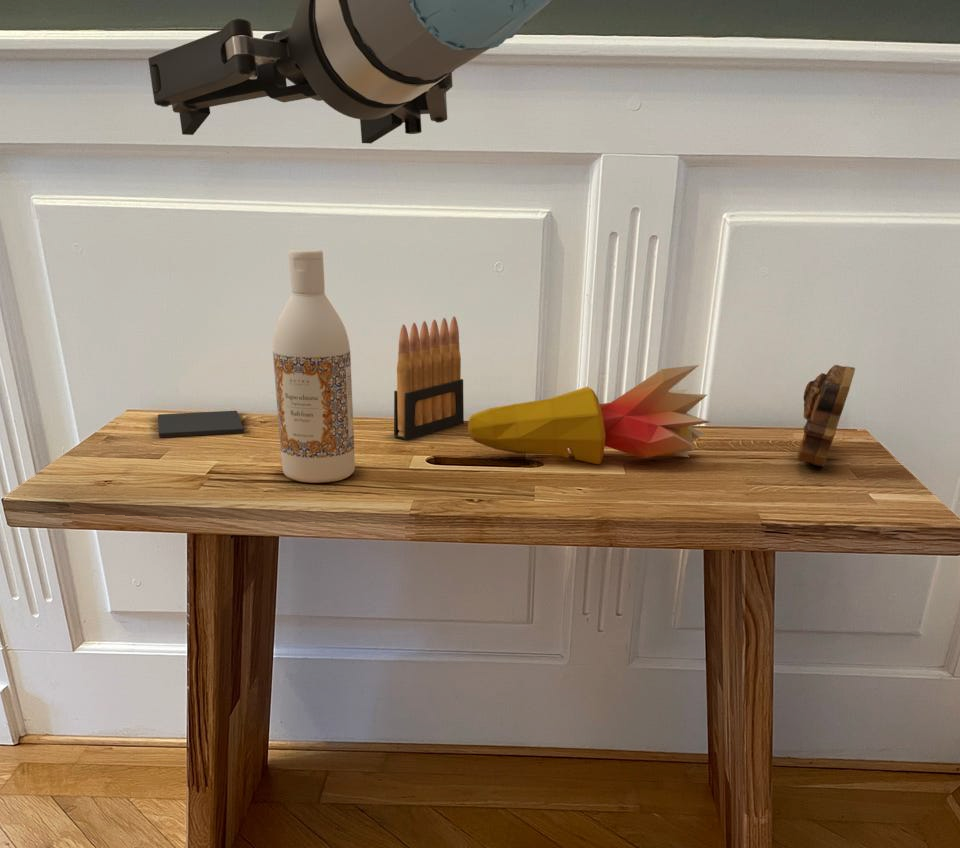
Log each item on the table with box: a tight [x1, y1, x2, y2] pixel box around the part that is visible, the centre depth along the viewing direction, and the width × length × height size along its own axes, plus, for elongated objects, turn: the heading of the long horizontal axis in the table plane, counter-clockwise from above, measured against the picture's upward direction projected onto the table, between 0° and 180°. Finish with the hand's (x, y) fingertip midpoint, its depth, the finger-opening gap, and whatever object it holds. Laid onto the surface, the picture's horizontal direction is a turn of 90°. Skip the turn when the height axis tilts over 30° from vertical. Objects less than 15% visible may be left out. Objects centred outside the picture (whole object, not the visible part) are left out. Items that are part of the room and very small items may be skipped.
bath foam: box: [272, 248, 356, 484], centre depth 83 cm, size 7×7×20 cm
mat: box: [157, 410, 245, 439], centre depth 104 cm, size 9×9×1 cm
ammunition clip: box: [393, 316, 465, 441], centre depth 101 cm, size 11×2×12 cm, turn 144°
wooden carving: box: [797, 364, 856, 468], centre depth 93 cm, size 16×5×10 cm, turn 162°
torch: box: [467, 364, 710, 465], centre depth 93 cm, size 8×8×25 cm
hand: (278, 119), depth 68 cm, fingers open, 13 cm apart
